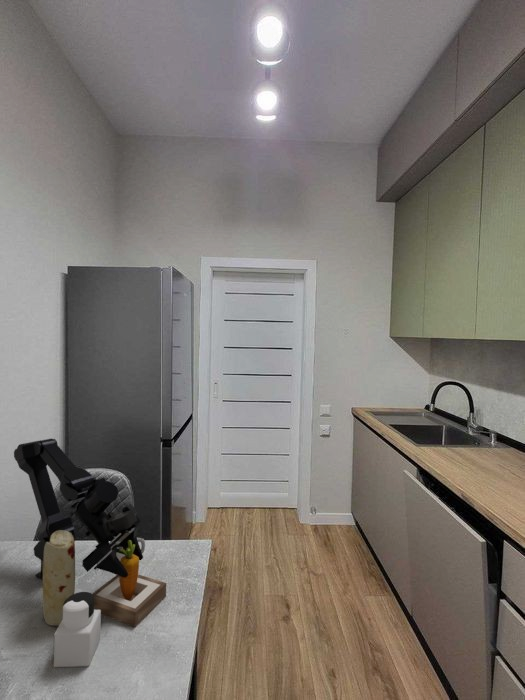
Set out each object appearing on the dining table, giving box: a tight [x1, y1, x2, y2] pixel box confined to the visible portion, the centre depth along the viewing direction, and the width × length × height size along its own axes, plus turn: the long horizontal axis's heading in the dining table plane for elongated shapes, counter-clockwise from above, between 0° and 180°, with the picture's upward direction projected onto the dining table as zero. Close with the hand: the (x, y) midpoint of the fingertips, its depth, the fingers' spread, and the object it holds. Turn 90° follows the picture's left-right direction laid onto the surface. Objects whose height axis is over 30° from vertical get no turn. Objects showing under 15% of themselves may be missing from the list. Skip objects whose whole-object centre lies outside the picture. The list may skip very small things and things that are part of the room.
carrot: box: [119, 540, 140, 601], centre depth 99 cm, size 5×5×15 cm
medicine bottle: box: [53, 591, 102, 668], centre depth 83 cm, size 7×7×12 cm
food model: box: [42, 530, 76, 627], centre depth 93 cm, size 10×7×20 cm
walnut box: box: [91, 574, 167, 628], centre depth 99 cm, size 14×12×4 cm
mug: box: [111, 536, 146, 560], centre depth 119 cm, size 10×7×7 cm
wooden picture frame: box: [96, 577, 160, 608], centre depth 99 cm, size 12×10×3 cm
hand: (134, 567), depth 99 cm, fingers open, 7 cm apart
